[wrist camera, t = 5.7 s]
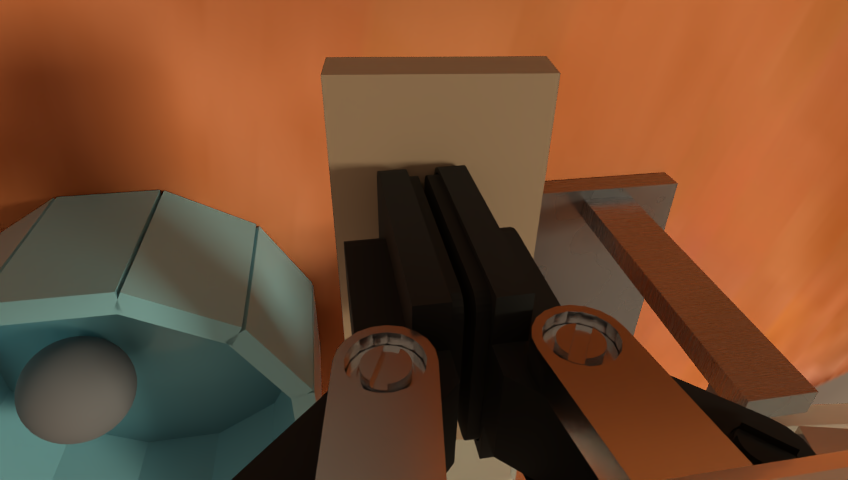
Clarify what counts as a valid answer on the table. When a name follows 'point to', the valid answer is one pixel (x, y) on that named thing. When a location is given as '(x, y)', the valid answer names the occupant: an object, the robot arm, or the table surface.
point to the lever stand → (658, 285)
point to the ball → (75, 390)
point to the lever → (453, 161)
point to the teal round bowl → (158, 333)
